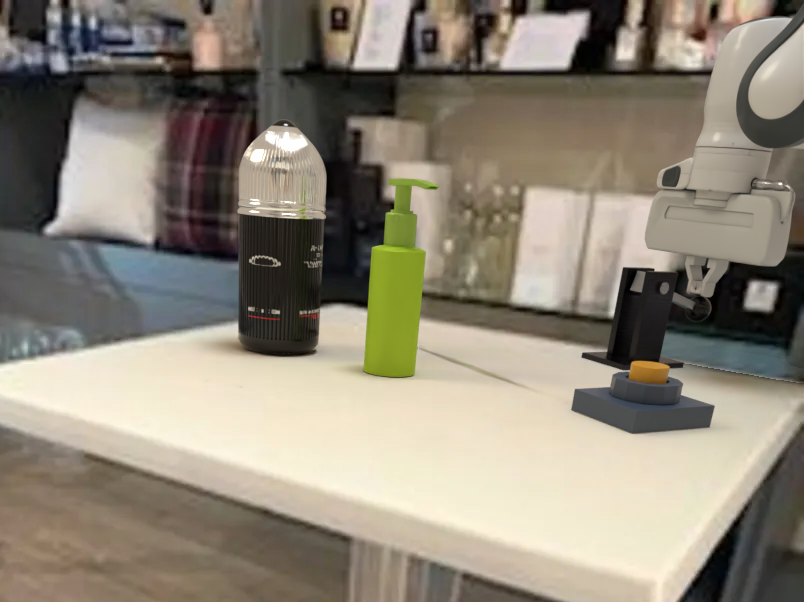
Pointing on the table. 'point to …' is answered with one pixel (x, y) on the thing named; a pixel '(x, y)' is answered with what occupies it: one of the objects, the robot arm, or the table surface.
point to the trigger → (680, 301)
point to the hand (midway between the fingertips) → (698, 295)
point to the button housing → (642, 406)
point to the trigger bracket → (639, 321)
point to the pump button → (649, 372)
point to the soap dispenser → (396, 289)
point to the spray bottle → (280, 242)
